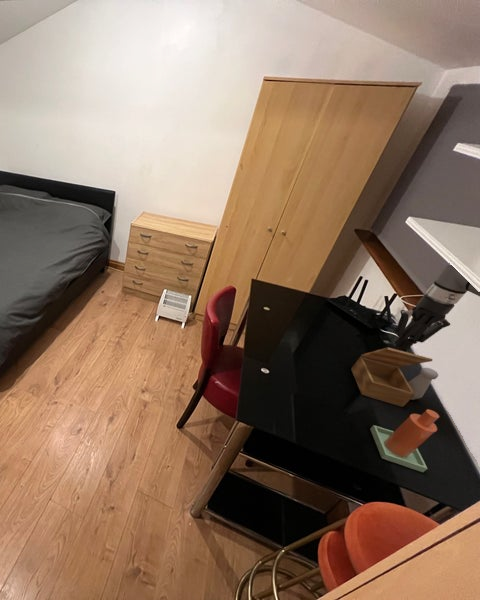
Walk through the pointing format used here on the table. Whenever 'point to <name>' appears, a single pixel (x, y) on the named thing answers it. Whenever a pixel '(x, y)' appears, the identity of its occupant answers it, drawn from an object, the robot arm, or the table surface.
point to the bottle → (412, 433)
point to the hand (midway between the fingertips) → (395, 353)
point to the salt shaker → (422, 382)
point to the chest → (382, 381)
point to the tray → (411, 461)
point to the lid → (395, 357)
